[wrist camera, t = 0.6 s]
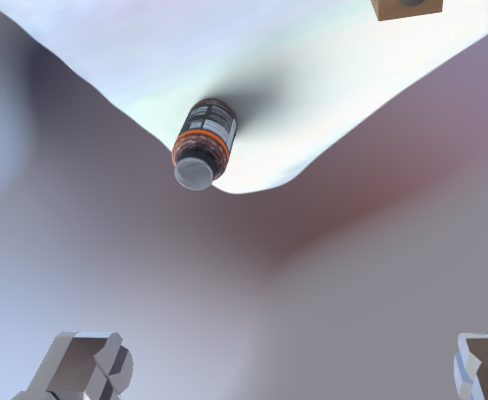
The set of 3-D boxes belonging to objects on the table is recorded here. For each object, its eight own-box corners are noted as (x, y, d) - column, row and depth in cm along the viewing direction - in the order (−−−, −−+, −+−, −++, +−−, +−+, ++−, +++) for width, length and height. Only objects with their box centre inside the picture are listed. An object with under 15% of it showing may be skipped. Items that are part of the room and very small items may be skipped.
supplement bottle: (212, 150, 54) (193, 208, 45) (178, 116, 52) (150, 170, 43) (248, 124, 51) (235, 180, 42) (213, 87, 49) (192, 138, 40)
